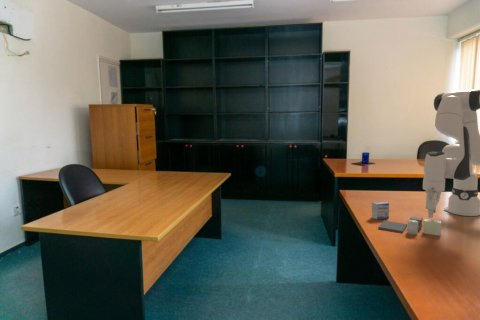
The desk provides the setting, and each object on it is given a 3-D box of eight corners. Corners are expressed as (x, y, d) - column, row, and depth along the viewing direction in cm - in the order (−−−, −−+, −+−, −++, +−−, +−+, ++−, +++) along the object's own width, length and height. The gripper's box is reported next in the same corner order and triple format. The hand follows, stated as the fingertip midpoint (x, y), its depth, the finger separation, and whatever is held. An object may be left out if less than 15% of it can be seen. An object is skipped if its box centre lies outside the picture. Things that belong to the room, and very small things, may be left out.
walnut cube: (411, 225, 167) (411, 215, 166) (422, 227, 164) (422, 217, 163) (409, 228, 163) (409, 218, 162) (420, 229, 160) (421, 220, 159)
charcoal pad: (383, 222, 172) (383, 220, 172) (406, 226, 166) (407, 224, 166) (378, 228, 163) (378, 226, 163) (402, 232, 156) (402, 230, 156)
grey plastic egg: (408, 231, 159) (408, 219, 158) (418, 232, 156) (418, 220, 155) (406, 233, 155) (407, 221, 154) (416, 235, 152) (417, 223, 152)
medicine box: (376, 220, 177) (377, 204, 176) (371, 217, 181) (371, 202, 180) (388, 218, 179) (389, 203, 178) (383, 216, 183) (383, 201, 182)
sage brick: (424, 230, 159) (424, 218, 158) (440, 233, 155) (441, 221, 154) (422, 233, 156) (423, 221, 155) (439, 235, 151) (440, 223, 151)
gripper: (439, 190, 142) (437, 221, 144) (443, 183, 158) (441, 211, 160) (422, 189, 146) (421, 219, 147) (428, 182, 162) (427, 209, 164)
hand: (431, 214), depth 154 cm, fingers open, 8 cm apart
